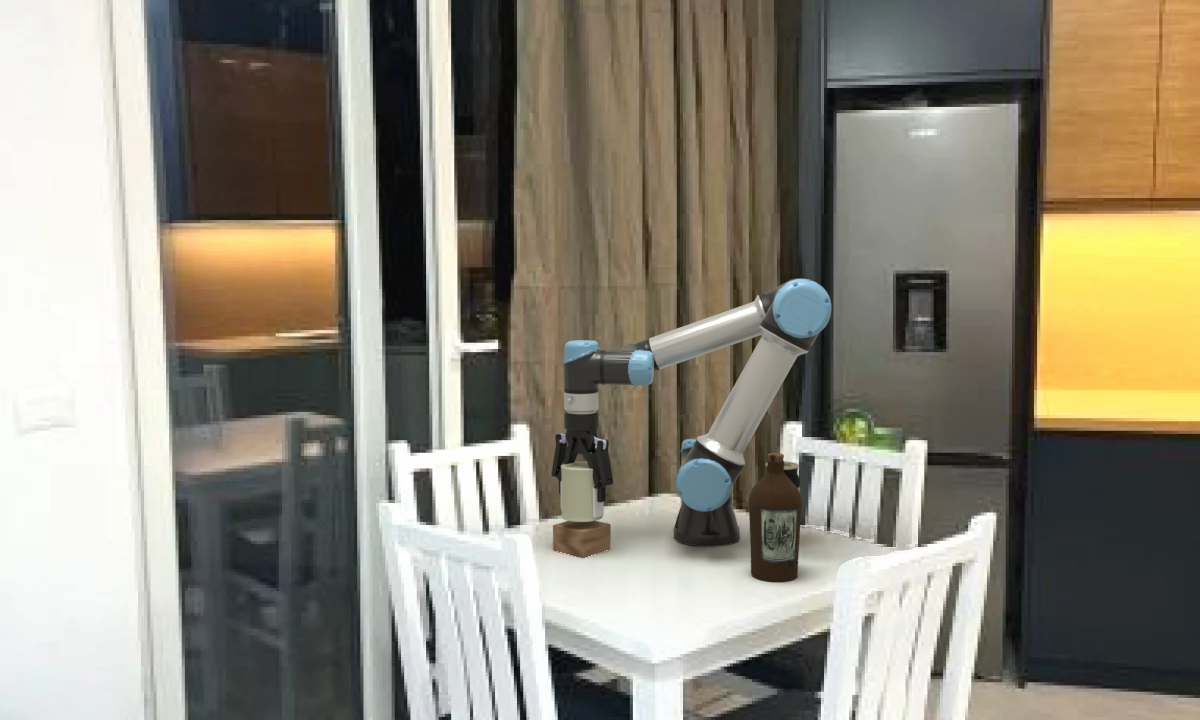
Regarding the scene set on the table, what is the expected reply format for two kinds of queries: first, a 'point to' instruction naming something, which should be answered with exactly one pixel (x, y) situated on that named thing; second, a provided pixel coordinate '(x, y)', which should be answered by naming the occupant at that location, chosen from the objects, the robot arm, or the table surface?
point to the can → (577, 492)
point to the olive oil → (775, 524)
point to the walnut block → (581, 538)
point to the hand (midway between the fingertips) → (581, 512)
